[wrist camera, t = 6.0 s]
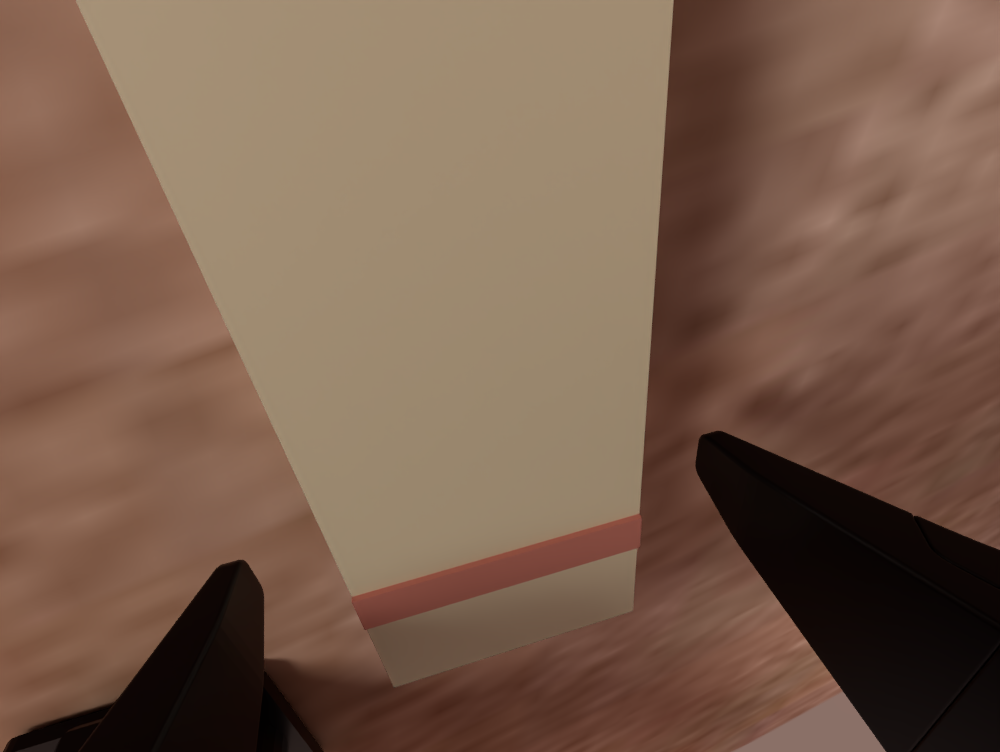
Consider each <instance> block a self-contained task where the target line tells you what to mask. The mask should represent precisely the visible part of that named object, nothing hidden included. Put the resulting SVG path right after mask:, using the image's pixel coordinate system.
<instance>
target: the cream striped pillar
mask: <svg viewBox="0 0 1000 752" xmlns="http://www.w3.org/2000/svg"><path fill="white" fill-rule="evenodd" d="M76 2H77V4H78V7H79V9H80V11H81V13H82V15H83V17H84V20H85V22H86V24H87V26H88V28H89V30H90V33H91V35H92V37H93V39H94V41H95V43H96V45H97V48H98V50H99V52H100V54H101V56H102V58H103V61H104V63H105V65H106V67H107V69H108V71H109V74H110V76H111V78H112V80H113V82H114V84H115V86H116V89H117V91H118V93H119V95H120V97H121V99H122V102H123V104H124V106H125V108H126V110H127V112H128V115H129V117H130V119H131V121H132V123H133V125H134V128H135V130H136V132H137V134H138V136H139V138H140V140H141V143H142V145H143V147H144V149H145V151H146V153H147V156H148V158H149V160H150V162H151V164H152V166H153V169H154V171H155V173H156V175H157V177H158V179H159V182H160V184H161V186H162V188H163V190H164V192H165V194H166V197H167V199H168V201H169V203H170V205H171V207H172V210H173V212H174V214H175V216H176V218H177V220H178V223H179V225H180V227H181V229H182V231H183V233H184V235H185V238H186V240H187V242H188V244H189V246H190V248H191V251H192V253H193V255H194V257H195V259H196V261H197V264H198V266H199V268H200V270H201V272H202V274H203V277H204V279H205V281H206V283H207V285H208V287H209V289H210V292H211V294H212V296H213V298H214V300H215V302H216V305H217V307H218V309H219V311H220V313H221V315H222V318H223V320H224V322H225V324H226V326H227V328H228V330H229V333H230V335H231V337H232V339H233V341H234V343H235V346H236V348H237V350H238V352H239V354H240V356H241V359H242V361H243V363H244V365H245V367H246V369H247V372H248V374H249V376H250V378H251V380H252V382H253V384H254V387H255V389H256V391H257V393H258V395H259V397H260V400H261V402H262V404H263V406H264V408H265V410H266V413H267V415H268V417H269V419H270V421H271V423H272V426H273V428H274V430H275V432H276V434H277V436H278V438H279V441H280V443H281V445H282V447H283V449H284V451H285V454H286V456H287V458H288V460H289V462H290V464H291V467H292V469H293V471H294V473H295V475H296V477H297V479H298V482H299V484H300V486H301V488H302V490H303V492H304V495H305V497H306V499H307V501H308V503H309V505H310V508H311V510H312V512H313V514H314V516H315V518H316V521H317V523H318V525H319V527H320V529H321V531H322V533H323V536H324V538H325V540H326V542H327V544H328V546H329V549H330V551H331V553H332V555H333V557H334V559H335V562H336V564H337V566H338V568H339V570H340V572H341V575H342V577H343V579H344V581H345V583H346V585H347V587H348V590H349V592H350V594H351V596H352V604H353V606H354V608H355V610H356V612H357V614H358V616H359V619H360V621H361V623H362V625H363V627H364V629H365V630H367V631H368V633H369V635H370V637H371V639H372V641H373V644H374V646H375V648H376V650H377V652H378V654H379V657H380V659H381V661H382V663H383V665H384V667H385V670H386V672H387V674H388V676H389V678H390V680H391V682H392V685H393V687H394V688H395V687H398V686H401V685H404V684H407V683H410V682H414V681H417V680H420V679H423V678H426V677H429V676H432V675H435V674H438V673H442V672H445V671H448V670H451V669H454V668H457V667H460V666H463V665H467V664H470V663H473V662H476V661H479V660H482V659H485V658H488V657H491V656H495V655H498V654H501V653H504V652H507V651H510V650H513V649H516V648H519V647H523V646H526V645H529V644H532V643H535V642H538V641H541V640H544V639H548V638H551V637H554V636H557V635H560V634H563V633H566V632H569V631H572V630H576V629H579V628H582V627H585V626H588V625H591V624H594V623H597V622H600V621H604V620H607V619H610V618H613V617H616V616H619V615H622V614H625V613H629V612H632V611H633V602H634V587H635V572H636V557H637V548H640V541H641V527H642V517H641V515H640V514H639V512H640V497H641V482H642V467H643V452H644V437H645V422H646V407H647V392H648V377H649V362H650V347H651V332H652V317H653V302H654V287H655V272H656V257H657V242H658V227H659V212H660V197H661V182H662V167H663V152H664V137H665V122H666V107H667V92H668V77H669V62H670V47H671V32H672V17H673V2H674V0H76Z"/></svg>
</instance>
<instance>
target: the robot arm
mask: <svg viewBox="0 0 1000 752" xmlns="http://www.w3.org/2000/svg"><path fill="white" fill-rule="evenodd" d="M696 471H697V474H698V476H699V478H700V479H701V481H702V483H703V485H704V487H705V488H706V490H707V492H708V494H709V495H710V497H711V499H712V501H713V502H714V504H715V506H716V508H717V509H718V511H719V513H720V515H721V517H722V518H723V520H724V522H725V524H726V525H727V527H728V529H729V530H730V532H731V534H732V535H733V537H734V539H735V540H736V542H737V543H738V545H739V546H740V547H741V549H742V550H743V552H744V553H745V555H746V556H747V557H748V559H749V560H750V562H751V563H752V564H753V566H754V567H755V569H756V570H757V571H758V573H759V574H760V576H761V577H762V578H763V580H764V581H765V583H766V584H767V585H768V587H769V588H770V590H771V591H772V592H773V594H774V595H775V597H776V598H777V599H778V601H779V602H780V604H781V605H782V606H783V608H784V609H785V611H786V612H787V613H788V615H789V616H790V618H791V619H792V620H793V622H794V623H795V625H796V626H797V627H798V629H799V630H800V632H801V633H802V634H803V636H804V637H805V639H806V640H807V641H808V643H809V644H810V646H811V647H812V648H813V650H814V651H815V653H816V654H817V655H818V657H819V658H820V660H821V661H822V662H823V664H824V665H825V667H826V668H827V669H828V671H829V672H830V674H831V675H832V676H833V678H834V679H835V681H836V682H837V683H838V685H839V686H840V688H841V689H842V690H843V692H844V693H845V694H846V696H847V697H848V699H849V700H850V702H851V703H852V704H853V706H854V707H855V709H856V710H857V711H858V713H859V714H860V716H861V717H862V719H863V720H864V721H865V723H866V724H867V726H868V727H869V728H870V730H871V731H872V732H873V734H874V735H875V737H876V738H877V740H878V741H879V742H880V744H881V745H882V746H883V748H884V749H885V751H886V752H1000V550H999V549H996V548H993V547H991V546H988V545H986V544H983V543H980V542H978V541H975V540H973V539H971V538H968V537H966V536H963V535H961V534H959V533H956V532H954V531H951V530H949V529H947V528H944V527H942V526H939V525H937V524H935V523H933V522H930V521H928V520H926V519H923V518H921V517H919V516H914V517H913V515H912V514H911V513H909V512H907V511H905V510H902V509H900V508H898V507H895V506H893V505H891V504H889V503H886V502H884V501H882V500H879V499H877V498H875V497H872V496H870V495H868V494H866V493H863V492H861V491H859V490H856V489H854V488H852V487H849V486H847V485H845V484H843V483H840V482H838V481H836V480H833V479H831V478H829V477H826V476H824V475H822V474H820V473H817V472H815V471H813V470H810V469H808V468H806V467H803V466H801V465H799V464H797V463H794V462H792V461H790V460H787V459H785V458H783V457H780V456H778V455H776V454H774V453H771V452H769V451H767V450H764V449H762V448H760V447H757V446H755V445H753V444H751V443H748V442H746V441H744V440H741V439H739V438H737V437H734V436H732V435H730V434H728V433H725V432H723V431H715V432H711V433H707V434H704V435H702V436H701V437H700V438H699V443H698V449H697V456H696ZM3 752H323V750H322V749H321V748H320V746H319V745H318V744H317V742H316V741H315V739H314V738H313V737H312V735H311V734H310V733H309V731H308V730H307V729H306V727H305V726H304V724H303V723H302V722H301V720H300V719H299V718H298V716H297V715H296V713H295V712H294V711H293V709H292V708H291V707H290V705H289V704H288V702H287V701H286V700H285V698H284V697H283V696H282V694H281V693H280V691H279V690H278V689H277V687H276V686H275V685H274V683H273V682H272V680H271V679H270V678H269V676H268V675H267V674H266V672H264V593H263V589H262V586H261V584H260V583H259V581H258V579H257V578H256V576H255V575H254V573H253V571H252V570H251V568H250V567H249V565H248V564H247V562H246V561H244V560H237V561H233V562H229V563H226V564H222V565H220V566H219V567H218V568H216V569H215V571H214V572H213V573H212V575H211V576H210V577H209V579H208V580H207V581H206V583H205V584H204V585H203V587H202V588H201V589H200V591H199V592H198V593H197V595H196V596H195V597H194V599H193V600H192V601H191V603H190V604H189V605H188V606H187V608H186V609H185V610H184V612H183V613H182V614H181V616H180V617H179V618H178V620H177V621H176V622H175V624H174V625H173V626H172V628H171V629H170V630H169V632H168V633H167V634H166V636H165V637H164V638H163V640H162V641H161V642H160V644H159V645H158V646H157V648H156V649H155V650H154V652H153V653H152V654H151V656H150V657H149V658H148V660H147V661H146V662H145V664H144V665H143V666H142V668H141V669H140V670H139V672H138V673H137V674H136V676H135V677H134V678H133V680H132V681H131V682H130V684H129V685H128V686H127V688H126V689H125V690H124V691H123V693H122V694H121V695H120V697H119V698H118V699H117V701H116V702H115V703H114V705H113V706H112V707H111V708H109V709H106V710H103V711H99V712H96V713H93V714H89V715H86V716H83V717H79V718H76V719H73V720H69V721H66V722H63V723H59V724H56V725H53V726H49V727H46V728H43V729H40V730H36V731H33V732H30V733H26V734H23V735H20V736H17V737H15V738H12V739H11V740H10V741H9V742H8V743H7V745H6V747H5V749H4V751H3Z"/></svg>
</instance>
